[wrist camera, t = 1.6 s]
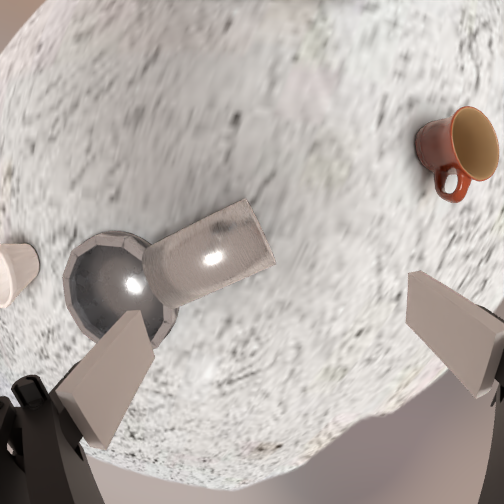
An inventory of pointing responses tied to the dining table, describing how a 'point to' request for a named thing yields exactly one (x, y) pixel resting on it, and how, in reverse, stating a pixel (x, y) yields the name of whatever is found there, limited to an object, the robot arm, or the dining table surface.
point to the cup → (16, 270)
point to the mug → (458, 150)
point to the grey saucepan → (161, 271)
